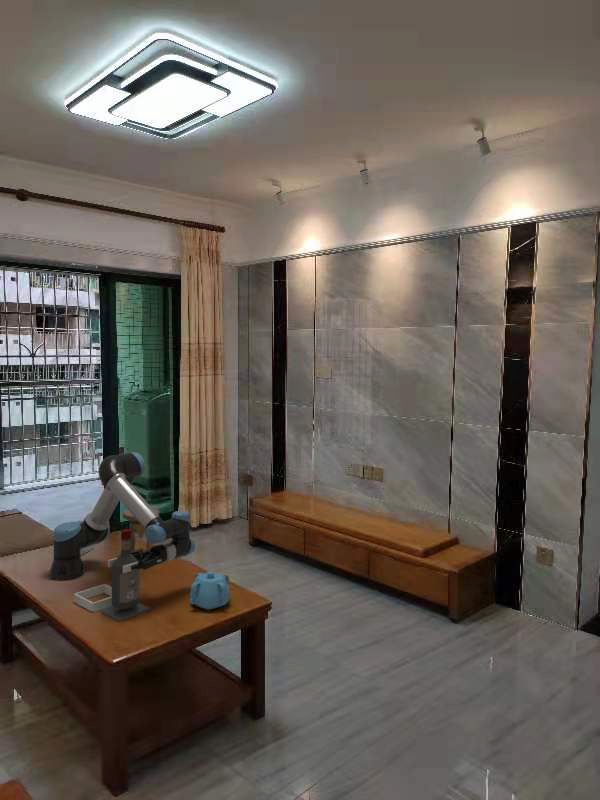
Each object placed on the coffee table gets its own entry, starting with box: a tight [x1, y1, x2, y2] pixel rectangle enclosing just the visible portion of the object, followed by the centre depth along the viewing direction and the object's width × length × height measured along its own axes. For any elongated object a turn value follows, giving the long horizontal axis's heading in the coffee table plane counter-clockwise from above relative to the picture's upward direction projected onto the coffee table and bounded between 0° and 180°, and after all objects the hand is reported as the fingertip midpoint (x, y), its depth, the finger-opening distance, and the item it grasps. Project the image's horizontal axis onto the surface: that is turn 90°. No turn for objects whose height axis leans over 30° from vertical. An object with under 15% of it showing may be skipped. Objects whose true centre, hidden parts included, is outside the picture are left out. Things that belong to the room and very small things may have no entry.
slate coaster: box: [99, 601, 151, 623], centre depth 231 cm, size 13×14×1 cm
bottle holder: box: [73, 583, 112, 613], centre depth 239 cm, size 15×15×4 cm
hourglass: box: [122, 507, 160, 566], centre depth 288 cm, size 18×18×25 cm
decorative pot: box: [189, 571, 231, 610], centre depth 239 cm, size 16×16×14 cm
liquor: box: [111, 528, 140, 609], centre depth 230 cm, size 9×9×30 cm
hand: (115, 566), depth 226 cm, fingers closed on liquor, 9 cm apart
